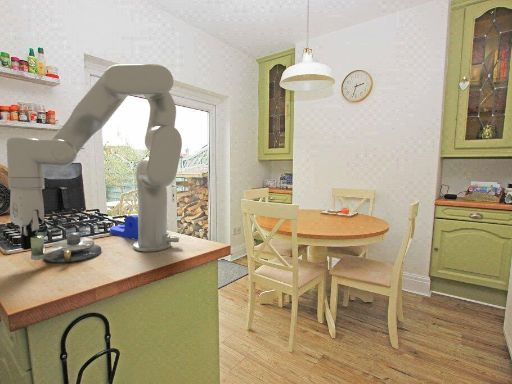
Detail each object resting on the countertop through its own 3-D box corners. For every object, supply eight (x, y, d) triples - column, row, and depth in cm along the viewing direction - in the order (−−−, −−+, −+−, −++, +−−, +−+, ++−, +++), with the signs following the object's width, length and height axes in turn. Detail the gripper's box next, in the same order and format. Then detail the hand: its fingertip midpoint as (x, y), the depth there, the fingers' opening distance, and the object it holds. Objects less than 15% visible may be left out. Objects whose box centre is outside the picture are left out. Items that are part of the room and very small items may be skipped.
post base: (108, 246, 94) (108, 236, 93) (86, 264, 78) (86, 251, 78) (61, 246, 92) (61, 235, 91) (29, 264, 76) (28, 251, 75)
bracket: (153, 235, 111) (153, 213, 110) (137, 240, 103) (137, 217, 102) (123, 228, 118) (122, 208, 117) (105, 232, 111) (105, 211, 110)
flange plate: (75, 239, 92) (74, 222, 91) (102, 243, 89) (101, 225, 88) (17, 257, 75) (16, 235, 74) (48, 263, 72) (47, 240, 71)
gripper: (-1, 181, 75) (2, 245, 77) (19, 186, 67) (23, 258, 69) (32, 180, 81) (35, 240, 83) (55, 185, 73) (57, 250, 75)
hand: (29, 248), depth 76 cm, fingers closed
